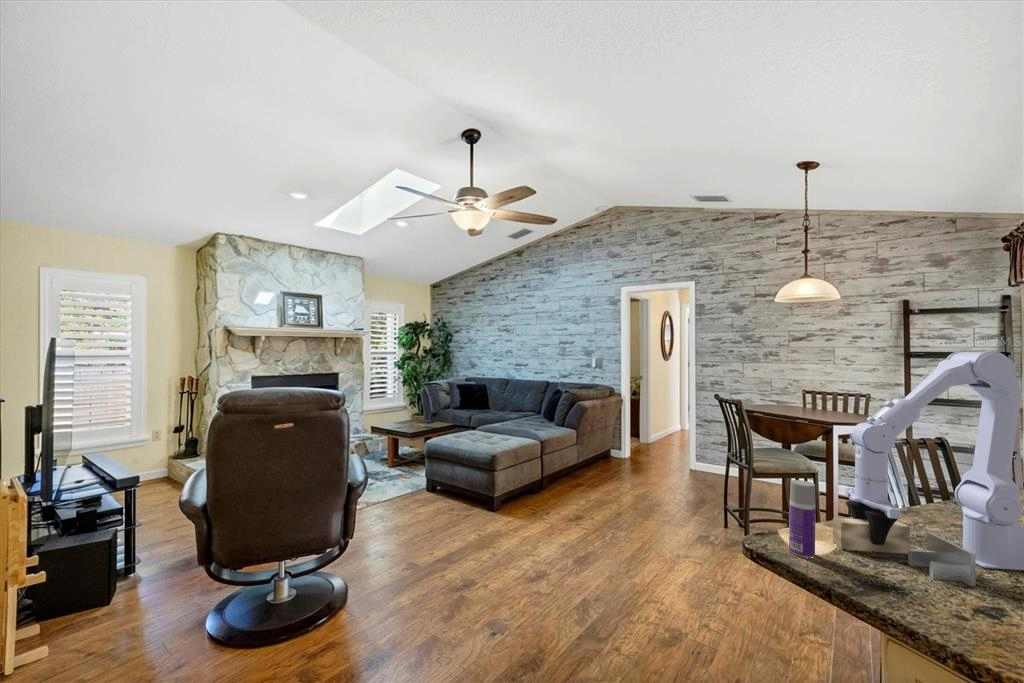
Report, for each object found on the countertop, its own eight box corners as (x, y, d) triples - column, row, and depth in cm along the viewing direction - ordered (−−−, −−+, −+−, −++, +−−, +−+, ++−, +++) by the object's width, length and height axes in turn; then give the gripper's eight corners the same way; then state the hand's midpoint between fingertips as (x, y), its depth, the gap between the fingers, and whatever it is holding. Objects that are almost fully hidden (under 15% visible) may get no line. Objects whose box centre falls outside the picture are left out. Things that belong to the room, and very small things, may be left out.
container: (819, 559, 94) (820, 487, 94) (794, 557, 95) (795, 485, 95) (809, 550, 99) (810, 480, 99) (785, 547, 100) (786, 479, 100)
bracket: (933, 561, 95) (933, 532, 95) (978, 586, 85) (978, 554, 85) (901, 559, 95) (901, 530, 95) (941, 584, 85) (942, 551, 85)
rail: (899, 548, 101) (899, 521, 101) (909, 554, 98) (909, 526, 98) (832, 544, 102) (832, 517, 103) (841, 550, 99) (841, 522, 100)
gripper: (832, 468, 108) (831, 526, 108) (875, 486, 94) (874, 553, 93) (863, 470, 108) (862, 527, 107) (911, 488, 93) (911, 555, 93)
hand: (870, 539), depth 100 cm, fingers open, 4 cm apart
